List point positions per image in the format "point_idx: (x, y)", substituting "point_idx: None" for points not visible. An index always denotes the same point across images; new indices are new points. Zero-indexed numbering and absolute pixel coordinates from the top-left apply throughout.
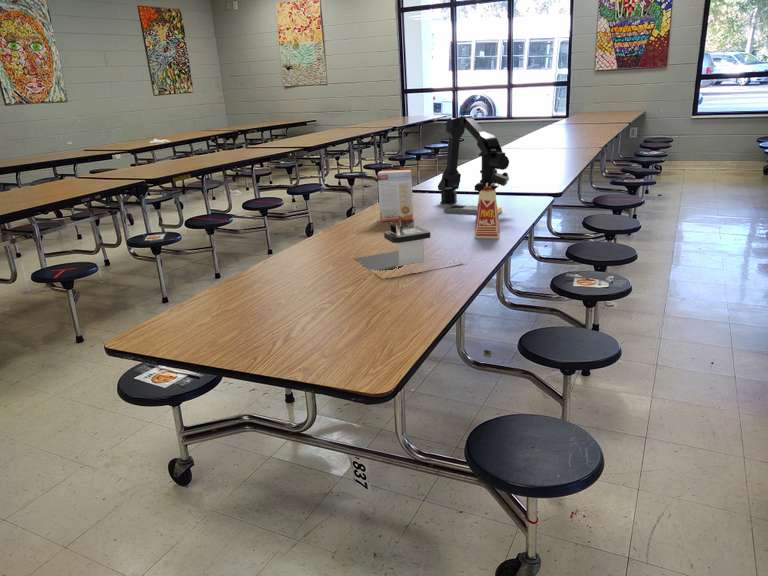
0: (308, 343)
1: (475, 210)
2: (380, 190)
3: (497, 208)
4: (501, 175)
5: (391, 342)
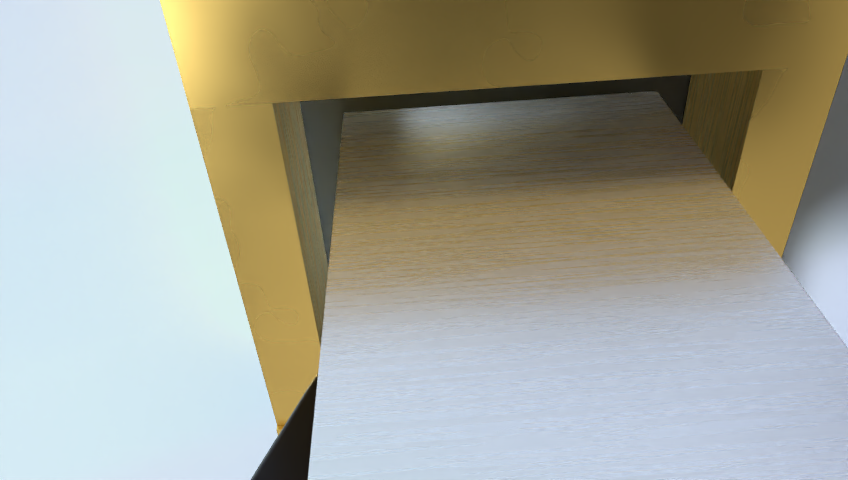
0: None
1: None
2: None
3: (470, 7)
4: None
5: None
